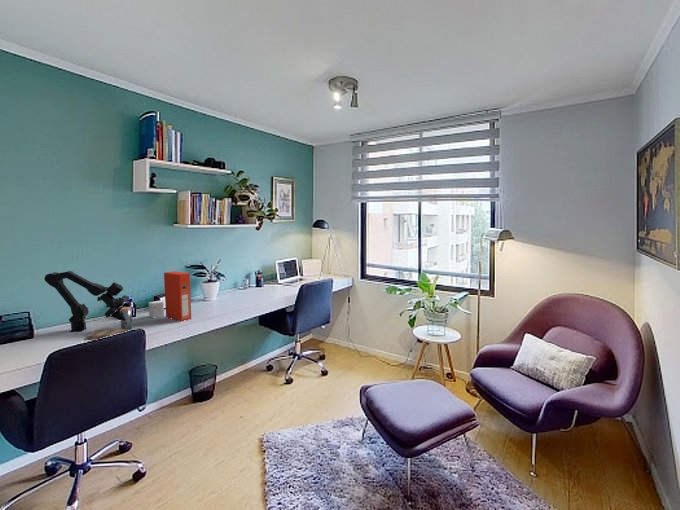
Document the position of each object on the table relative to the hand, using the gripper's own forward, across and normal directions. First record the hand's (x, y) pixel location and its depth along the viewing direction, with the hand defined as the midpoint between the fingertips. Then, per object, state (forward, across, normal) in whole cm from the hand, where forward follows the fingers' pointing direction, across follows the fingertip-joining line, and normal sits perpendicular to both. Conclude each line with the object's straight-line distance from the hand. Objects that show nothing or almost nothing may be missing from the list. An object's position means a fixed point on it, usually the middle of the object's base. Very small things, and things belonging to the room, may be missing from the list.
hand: (128, 318), depth 225 cm
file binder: (+18, +26, -8) cm, 33 cm away
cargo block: (-5, 0, -3) cm, 6 cm away
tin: (+4, 0, +6) cm, 7 cm away
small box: (+6, +30, +4) cm, 30 cm away
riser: (+2, -13, +8) cm, 15 cm away
